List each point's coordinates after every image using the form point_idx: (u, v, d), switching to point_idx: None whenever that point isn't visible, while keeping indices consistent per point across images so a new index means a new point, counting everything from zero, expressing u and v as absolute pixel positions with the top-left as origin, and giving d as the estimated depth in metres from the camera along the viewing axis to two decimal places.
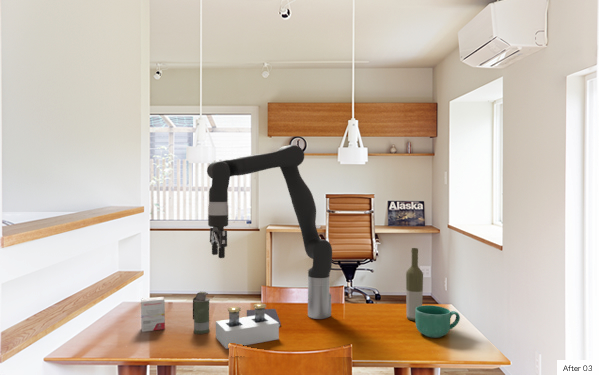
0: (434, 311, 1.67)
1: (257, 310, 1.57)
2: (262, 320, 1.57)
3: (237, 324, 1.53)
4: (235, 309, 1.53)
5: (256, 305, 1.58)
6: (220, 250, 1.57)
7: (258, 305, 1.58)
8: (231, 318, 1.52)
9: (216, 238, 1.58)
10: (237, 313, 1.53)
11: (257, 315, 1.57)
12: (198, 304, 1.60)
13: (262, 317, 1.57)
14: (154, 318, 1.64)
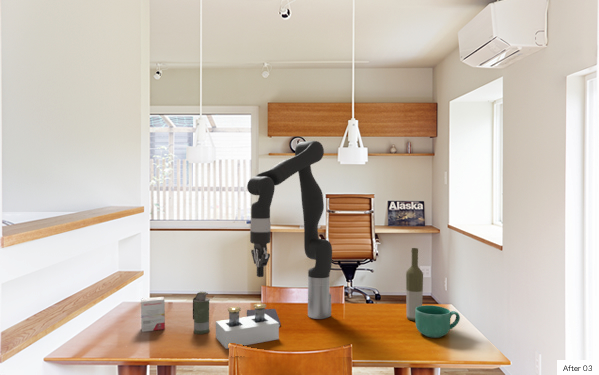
0: (434, 311, 1.67)
1: (257, 310, 1.57)
2: (262, 320, 1.57)
3: (237, 324, 1.53)
4: (235, 309, 1.53)
5: (256, 305, 1.58)
6: (259, 269, 1.57)
7: (258, 305, 1.58)
8: (231, 318, 1.52)
9: (257, 257, 1.56)
10: (237, 313, 1.53)
11: (257, 315, 1.57)
12: (198, 304, 1.60)
13: (262, 317, 1.57)
14: (154, 318, 1.64)
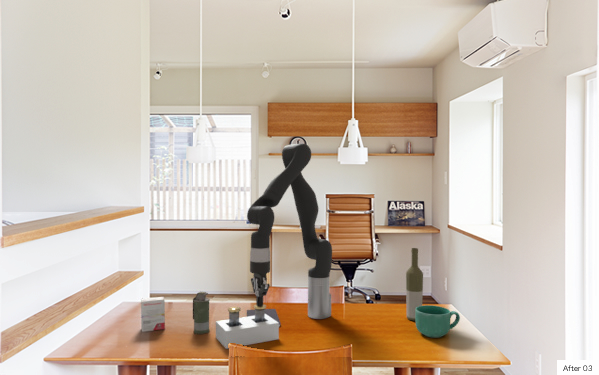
0: (434, 311, 1.67)
1: (257, 311, 1.57)
2: (262, 321, 1.57)
3: (237, 324, 1.53)
4: (235, 309, 1.53)
5: (256, 306, 1.58)
6: (259, 298, 1.57)
7: None
8: (231, 318, 1.52)
9: (257, 287, 1.56)
10: (237, 313, 1.53)
11: (257, 316, 1.57)
12: (198, 304, 1.60)
13: (262, 318, 1.57)
14: (154, 318, 1.64)
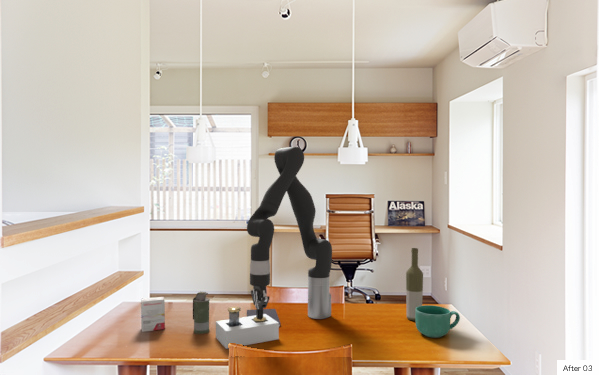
0: (434, 311, 1.67)
1: None
2: None
3: (237, 324, 1.53)
4: (235, 309, 1.53)
5: (256, 318, 1.58)
6: (259, 311, 1.57)
7: None
8: (231, 318, 1.52)
9: (257, 299, 1.56)
10: (237, 313, 1.53)
11: None
12: (198, 304, 1.60)
13: None
14: (154, 318, 1.64)
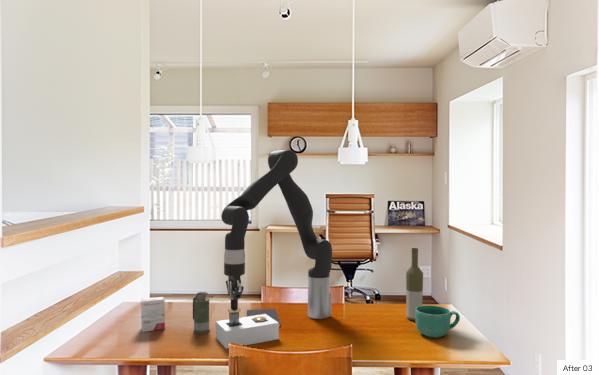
0: (434, 311, 1.67)
1: None
2: None
3: (237, 324, 1.53)
4: (236, 309, 1.53)
5: (256, 318, 1.58)
6: (233, 302, 1.52)
7: (258, 318, 1.58)
8: (230, 319, 1.52)
9: (231, 290, 1.52)
10: (237, 313, 1.53)
11: None
12: (198, 304, 1.60)
13: None
14: (154, 318, 1.64)
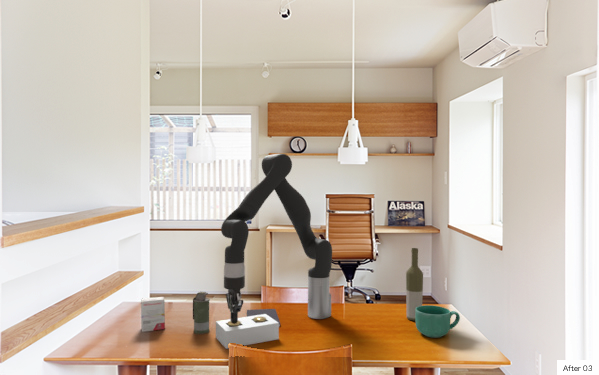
0: (434, 311, 1.67)
1: None
2: None
3: None
4: (235, 323, 1.53)
5: (256, 318, 1.58)
6: (233, 315, 1.52)
7: (258, 318, 1.58)
8: None
9: (231, 303, 1.52)
10: None
11: None
12: (198, 304, 1.60)
13: None
14: (154, 318, 1.64)
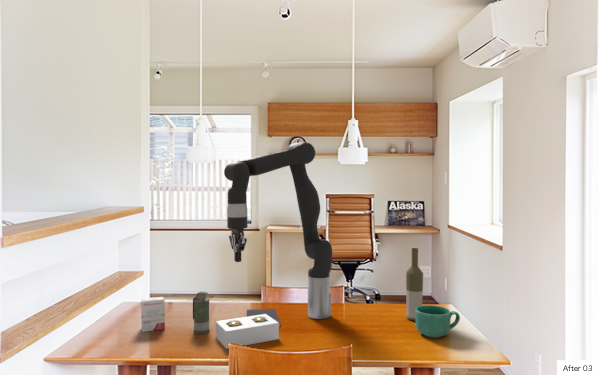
0: (434, 311, 1.67)
1: None
2: None
3: None
4: (235, 323, 1.53)
5: (256, 318, 1.58)
6: (237, 254, 1.58)
7: (258, 318, 1.58)
8: None
9: (235, 242, 1.57)
10: None
11: None
12: (198, 304, 1.60)
13: None
14: (154, 318, 1.64)
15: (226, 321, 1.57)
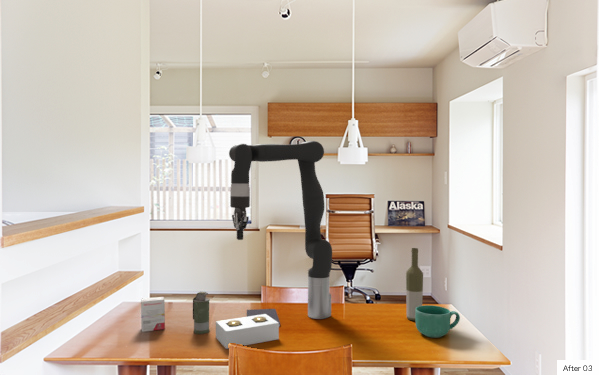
0: (434, 311, 1.67)
1: None
2: None
3: None
4: (235, 323, 1.53)
5: (256, 318, 1.58)
6: (239, 232, 1.65)
7: (258, 318, 1.58)
8: None
9: (237, 221, 1.64)
10: None
11: None
12: (198, 304, 1.60)
13: None
14: (154, 318, 1.64)
15: (226, 321, 1.57)
